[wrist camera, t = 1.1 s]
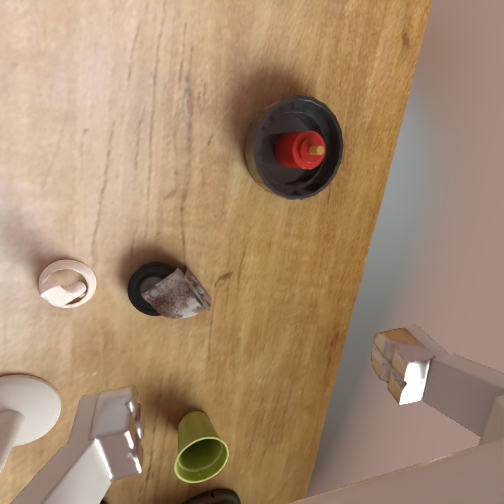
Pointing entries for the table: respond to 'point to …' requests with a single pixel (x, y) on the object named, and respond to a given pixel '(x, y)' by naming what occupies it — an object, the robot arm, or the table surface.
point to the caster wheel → (167, 291)
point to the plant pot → (199, 449)
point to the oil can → (299, 149)
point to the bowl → (285, 121)
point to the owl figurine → (224, 499)
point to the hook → (65, 293)
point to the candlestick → (25, 411)
